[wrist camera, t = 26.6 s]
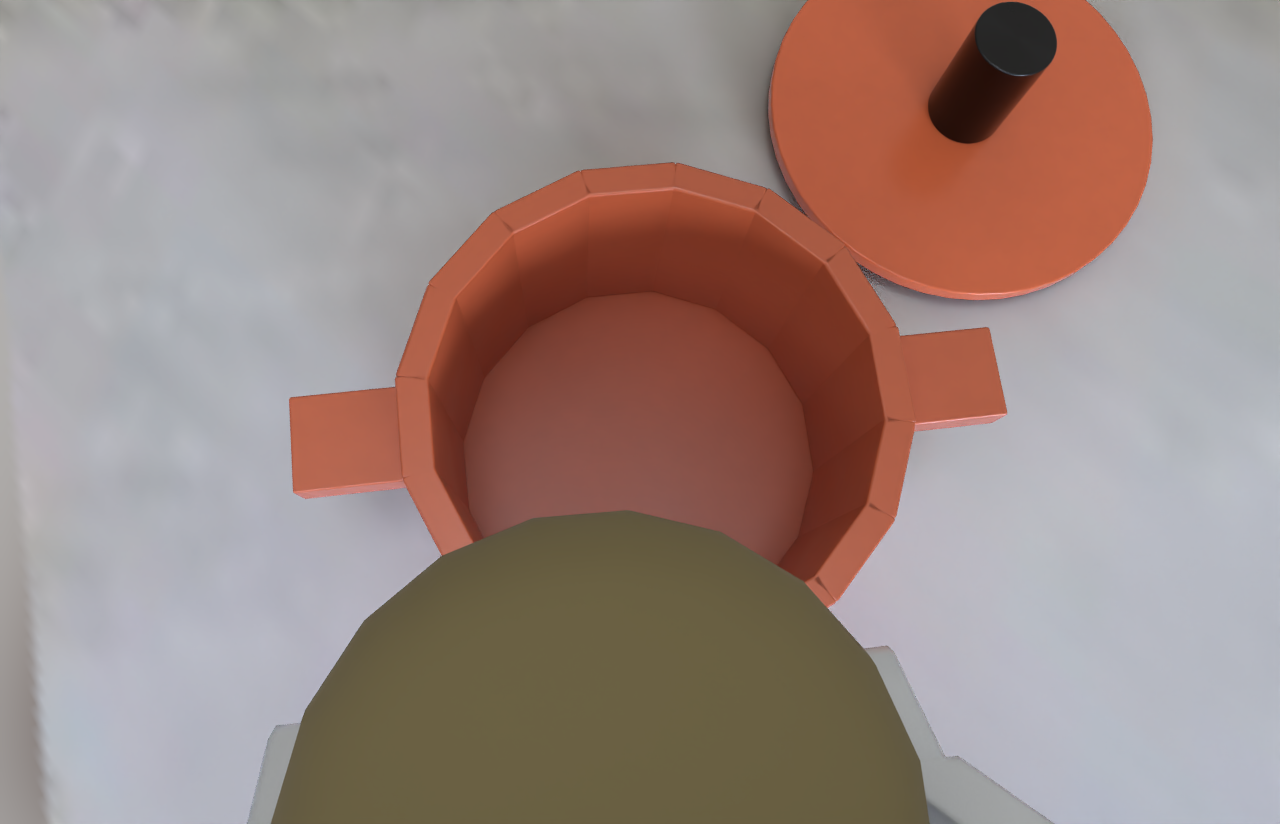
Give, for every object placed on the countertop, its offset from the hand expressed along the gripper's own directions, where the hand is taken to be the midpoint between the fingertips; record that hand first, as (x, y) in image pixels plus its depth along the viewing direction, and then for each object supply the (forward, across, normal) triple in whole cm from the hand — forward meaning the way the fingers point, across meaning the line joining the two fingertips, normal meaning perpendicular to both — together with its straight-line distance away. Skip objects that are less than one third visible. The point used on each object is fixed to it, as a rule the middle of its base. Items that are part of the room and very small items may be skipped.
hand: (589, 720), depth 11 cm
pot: (+18, -2, +9) cm, 20 cm away
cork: (+4, 0, +5) cm, 6 cm away
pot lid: (+25, -15, +1) cm, 30 cm away
